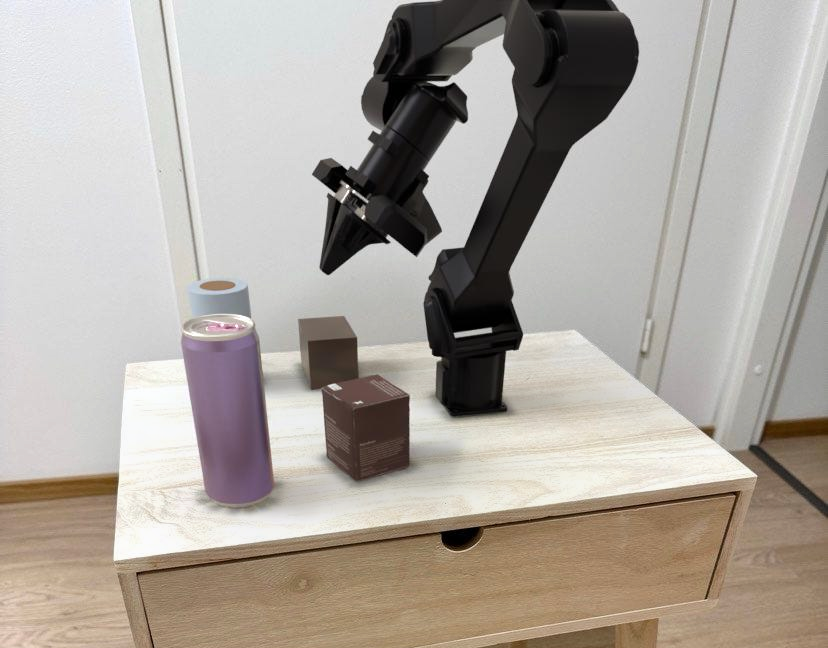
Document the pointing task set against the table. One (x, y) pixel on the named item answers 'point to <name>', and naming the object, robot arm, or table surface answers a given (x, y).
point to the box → (367, 426)
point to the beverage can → (229, 407)
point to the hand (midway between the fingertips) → (323, 272)
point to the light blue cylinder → (219, 297)
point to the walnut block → (328, 350)
